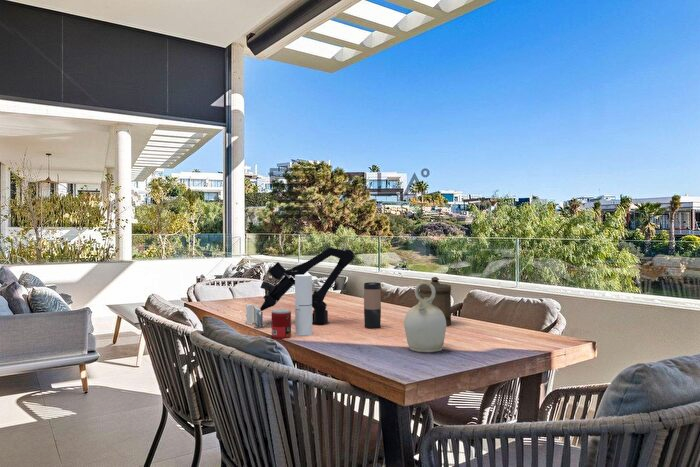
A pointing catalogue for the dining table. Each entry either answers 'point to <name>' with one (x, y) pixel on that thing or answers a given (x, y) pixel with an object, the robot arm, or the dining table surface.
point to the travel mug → (372, 305)
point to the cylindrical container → (303, 305)
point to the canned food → (281, 323)
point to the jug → (425, 324)
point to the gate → (256, 313)
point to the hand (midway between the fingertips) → (260, 310)
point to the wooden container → (439, 297)
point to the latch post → (249, 313)
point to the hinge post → (259, 320)
